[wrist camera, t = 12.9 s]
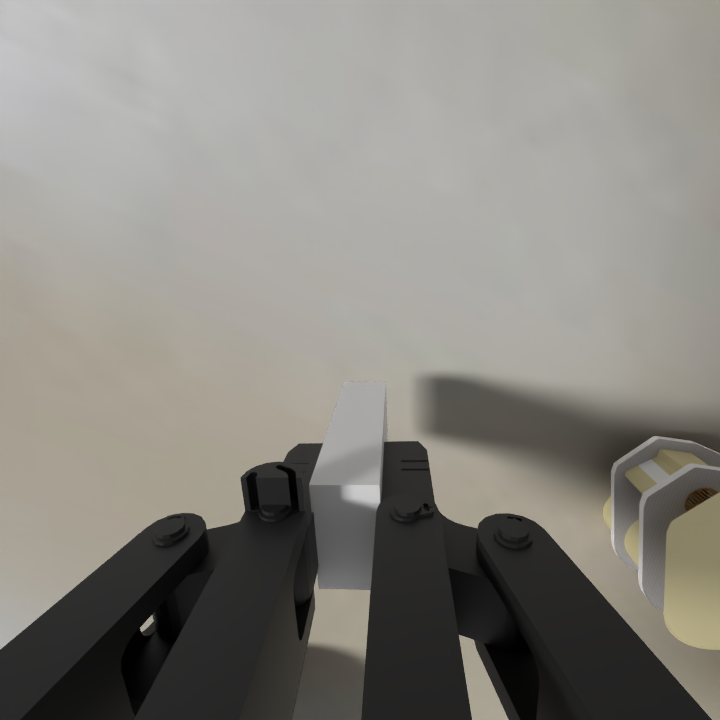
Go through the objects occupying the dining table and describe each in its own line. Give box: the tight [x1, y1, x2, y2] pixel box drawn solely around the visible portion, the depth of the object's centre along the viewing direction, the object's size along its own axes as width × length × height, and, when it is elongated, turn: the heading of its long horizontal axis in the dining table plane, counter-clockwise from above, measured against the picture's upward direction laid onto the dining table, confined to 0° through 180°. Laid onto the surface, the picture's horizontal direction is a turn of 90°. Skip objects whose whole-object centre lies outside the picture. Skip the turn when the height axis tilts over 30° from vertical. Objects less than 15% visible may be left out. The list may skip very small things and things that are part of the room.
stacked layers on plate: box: [603, 436, 720, 650], centre depth 16 cm, size 10×9×6 cm
